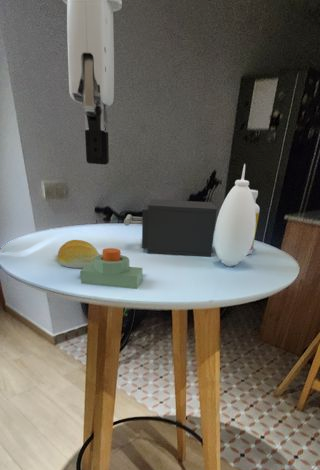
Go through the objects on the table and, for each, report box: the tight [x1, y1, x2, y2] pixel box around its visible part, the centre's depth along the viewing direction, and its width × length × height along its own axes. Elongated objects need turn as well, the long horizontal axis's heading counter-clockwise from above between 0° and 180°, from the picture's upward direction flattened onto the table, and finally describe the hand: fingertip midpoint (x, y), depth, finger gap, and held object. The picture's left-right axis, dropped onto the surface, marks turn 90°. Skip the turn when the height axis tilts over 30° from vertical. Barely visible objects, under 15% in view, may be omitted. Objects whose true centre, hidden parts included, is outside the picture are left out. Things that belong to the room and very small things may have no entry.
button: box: [102, 247, 121, 261], centre depth 63 cm, size 3×3×2 cm
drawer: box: [123, 203, 149, 249], centre depth 84 cm, size 18×9×8 cm, turn 89°
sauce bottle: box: [213, 163, 256, 267], centre depth 72 cm, size 8×8×18 cm
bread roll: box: [56, 239, 100, 269], centre depth 73 cm, size 8×9×4 cm
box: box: [79, 254, 144, 289], centre depth 64 cm, size 10×6×4 cm, turn 82°
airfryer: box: [146, 198, 218, 258], centre depth 84 cm, size 15×10×10 cm
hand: (97, 163), depth 57 cm, fingers closed
